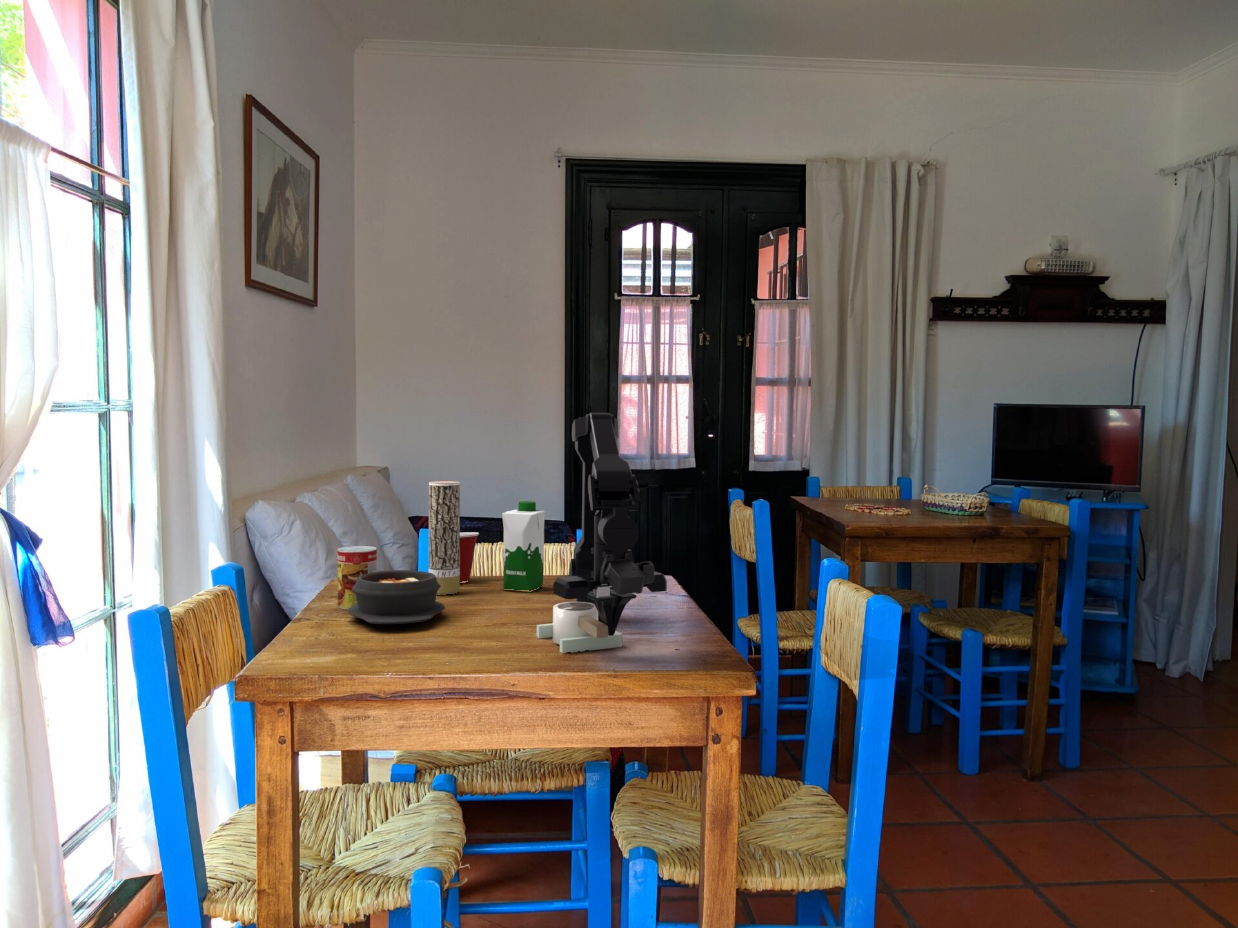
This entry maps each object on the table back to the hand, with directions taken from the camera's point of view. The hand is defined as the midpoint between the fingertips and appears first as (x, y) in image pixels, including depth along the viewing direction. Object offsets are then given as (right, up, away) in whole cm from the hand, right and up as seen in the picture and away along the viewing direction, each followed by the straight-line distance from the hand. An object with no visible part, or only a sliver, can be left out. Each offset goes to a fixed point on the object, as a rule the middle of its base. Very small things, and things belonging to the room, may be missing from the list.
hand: (610, 635), depth 150 cm
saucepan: (-5, -3, +5) cm, 7 cm away
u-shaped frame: (-6, -3, +8) cm, 11 cm away
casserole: (-42, -2, +26) cm, 50 cm away
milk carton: (-21, 0, +57) cm, 60 cm away
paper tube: (-38, -1, +51) cm, 63 cm away
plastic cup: (-38, 0, +64) cm, 74 cm away
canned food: (-53, -1, +37) cm, 65 cm away
